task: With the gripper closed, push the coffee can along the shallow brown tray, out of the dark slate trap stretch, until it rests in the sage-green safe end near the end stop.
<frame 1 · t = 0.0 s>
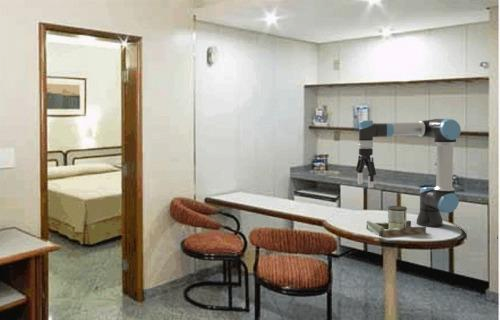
hand: (365, 185, 261), 28 cm above the table, tool pointing down, fingers open, 13 cm apart
coffee can: (397, 231, 270), on the table
shallow brown tray: (395, 231, 270), on the table
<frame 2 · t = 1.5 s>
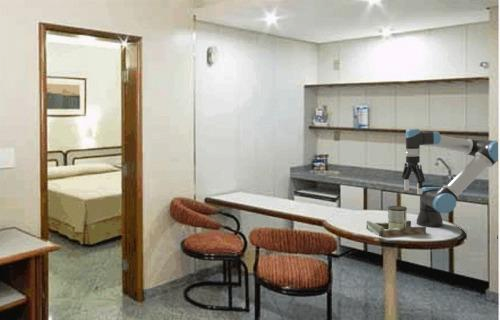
hand: (413, 192, 269), 23 cm above the table, tool pointing down, fingers open, 13 cm apart
nothing on the table moved.
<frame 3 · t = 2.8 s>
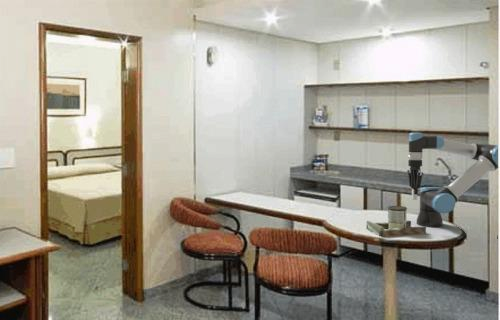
hand: (414, 199, 270), 18 cm above the table, tool pointing down, fingers closed
nothing on the table moved.
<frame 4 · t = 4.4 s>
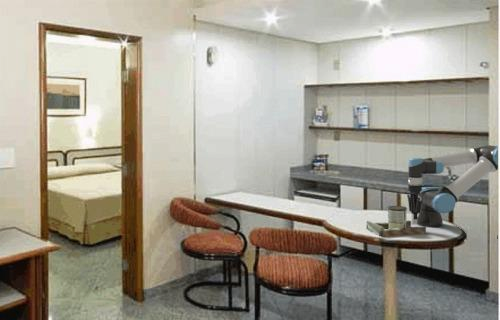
hand: (414, 224, 272), 3 cm above the table, tool pointing down, fingers closed
nothing on the table moved.
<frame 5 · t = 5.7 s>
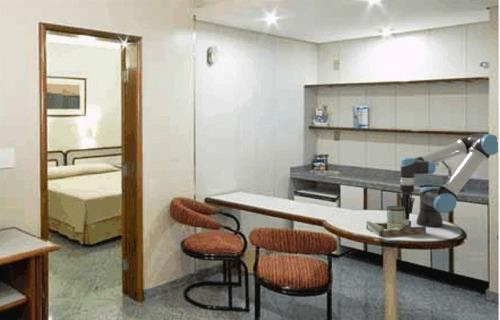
hand: (406, 224, 271), 4 cm above the table, tool pointing down, fingers closed
coffee can: (395, 231, 270), on the table, touching gripper
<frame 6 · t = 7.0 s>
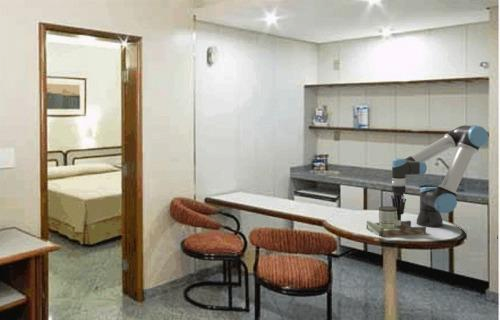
hand: (398, 225, 270), 3 cm above the table, tool pointing down, fingers closed
coffee can: (387, 232, 269), on the table, touching gripper
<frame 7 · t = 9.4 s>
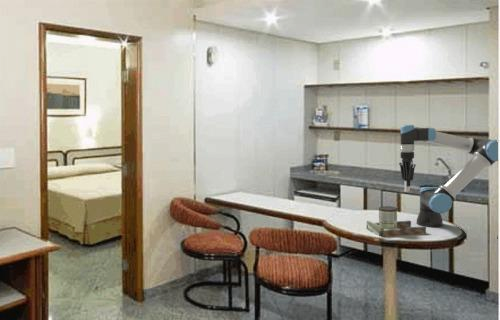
hand: (407, 191, 272), 23 cm above the table, tool pointing down, fingers closed
coffee can: (387, 232, 269), on the table
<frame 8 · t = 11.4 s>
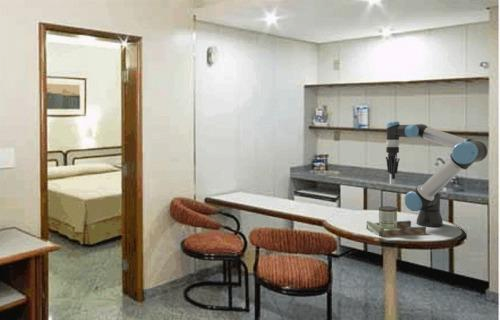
hand: (392, 184, 290), 24 cm above the table, tool pointing down, fingers closed
nothing on the table moved.
at the end: coffee can inside the target area (1.5 cm from its centre), on the table; coffee can tilted 0°; the gripper is holding nothing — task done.
